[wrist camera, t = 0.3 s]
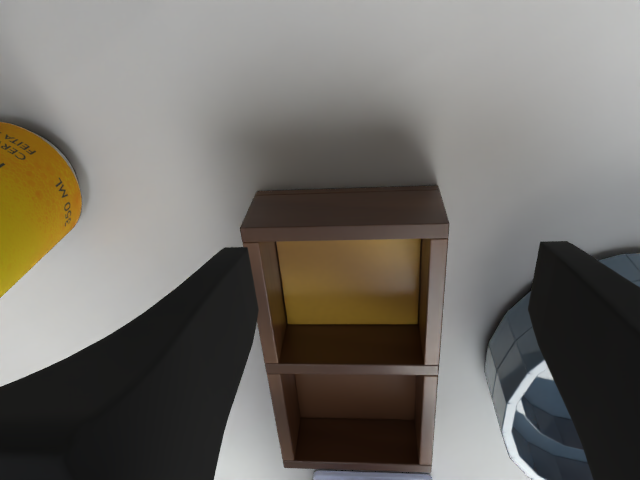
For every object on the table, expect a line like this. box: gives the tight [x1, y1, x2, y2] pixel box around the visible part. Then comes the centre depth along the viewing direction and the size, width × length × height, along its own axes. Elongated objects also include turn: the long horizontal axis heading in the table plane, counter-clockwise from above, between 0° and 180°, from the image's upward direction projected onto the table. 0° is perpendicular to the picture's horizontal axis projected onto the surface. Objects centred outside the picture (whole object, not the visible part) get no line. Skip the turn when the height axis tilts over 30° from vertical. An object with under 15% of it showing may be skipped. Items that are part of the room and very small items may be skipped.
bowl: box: [485, 253, 640, 480], centre depth 24 cm, size 13×13×4 cm
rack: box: [240, 185, 449, 473], centre depth 25 cm, size 16×8×4 cm, turn 4°
